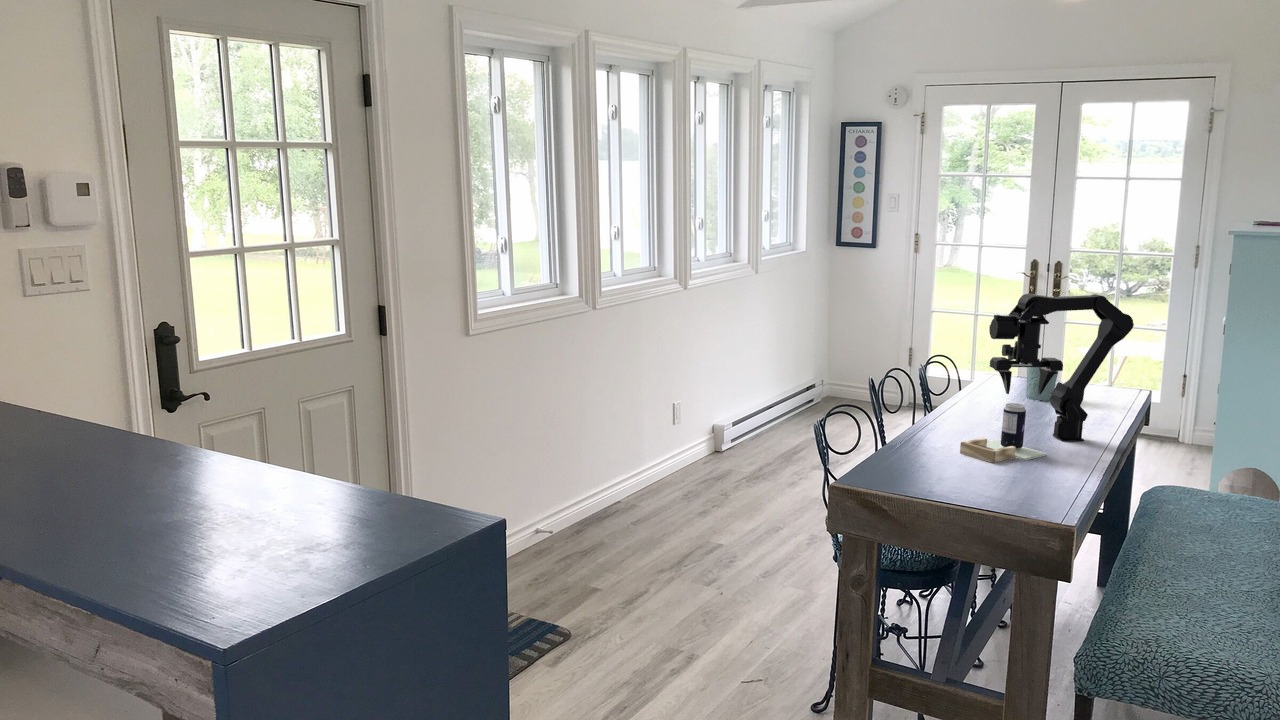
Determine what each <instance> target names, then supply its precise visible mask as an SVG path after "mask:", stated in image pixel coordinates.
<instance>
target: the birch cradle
mask: <svg viewBox="0 0 1280 720" xmlns="http://www.w3.org/2000/svg"><path fill="white" fill-rule="evenodd" d="M987 441H988V438H986V437H981V438H980V437H979V438H976V439H971V440H965V441H961V442H960V445H959V446H960V448H959V454H961V455H966V456H969V457H971V458H975V459H978V460H981V461H984V460H985V462H987V461H988V463H990V462H993V463H997V462H996V461H998V462H1002V461H1001V460H1003V461H1006V459H1007V460H1012V459H1015V450H1016V447H1014V446H1009V447H1004V448H999V449H994V450H990V449H987ZM1011 458H1012V459H1011Z"/></svg>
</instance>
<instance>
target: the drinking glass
mask: <svg viewBox="0 0 1280 720" xmlns="http://www.w3.org/2000/svg"><path fill="white" fill-rule="evenodd" d="M1039 368H1042V367H1026V381H1025V383H1026V385H1025V386H1026V388H1025V398H1026V397H1027V398H1026V399H1028V398H1029V400H1031V399H1033V400H1032V401H1036V400H1042V401H1041V402H1050V397H1051V395H1052V394H1050V393H1051V392H1052V391H1053V390H1054V389H1055V387H1056V385H1057V379H1058V375H1059V371H1057V372H1058V374H1054V375H1053V377H1052V378H1051V379H1050V381H1049V382H1048V384H1047V385H1046V387H1045V389H1044V390H1043V392H1042V393H1041V394H1038V386H1039V380H1040V370H1039Z"/></svg>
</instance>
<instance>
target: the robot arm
mask: <svg viewBox="0 0 1280 720" xmlns="http://www.w3.org/2000/svg"><path fill="white" fill-rule="evenodd" d="M1089 310H1090V311H1091V310H1092V311H1093V312H1094V313H1095V315H1096V317H1097V318H1099V320H1100V323H1099V325H1098V327H1097V328H1098V329H1097V336H1096V339H1095V340H1094V341H1093V343H1092V344H1091V346H1090V348H1089V349H1088V351H1087V352H1086V353H1085V355H1084V357H1083V358H1082V359H1081V361H1080V362H1079V364H1078V365H1077V367H1076V369H1075V370H1074V372H1073V373H1072V375H1071V377H1069V378H1068V380H1067V381H1065V382H1064V383H1062V382H1061V381H1058V382H1056V385H1055V389H1054V390H1053V391H1052V392H1051V393H1050V394H1052V395H1051V397H1050V401H1049V403H1050V405H1051V407H1052V408H1053V409H1054V412H1055V414H1056V415H1057V416H1056V421H1054V427H1053V433H1052V436H1053V437H1055V438H1056V439H1058V440H1059V441H1062V442H1084V441H1085V439H1084V438H1082V436H1083V429H1084V428H1083V426H1084V425H1083V424H1084V422H1085V421H1086V420H1087V418H1088V412H1087V411H1085V409H1083V408H1082V406H1081V405H1082V404H1083V401H1084V395H1085V389H1086V387H1088V384H1089V383H1090V382H1091V380H1092V378H1093V377H1094V375H1095V374H1096V373H1097V371H1098V369H1099V368H1100V367H1101V365H1102V363H1103V362H1104V361H1105V359H1106V357H1107V356H1108V355H1109V353H1110V351H1111V350H1112V349H1113V348H1114V346H1115V345H1117V344H1118V343H1119V342H1120V341H1122V340H1124V339H1125V338H1126V337H1127V335H1128V334H1130V332H1131V331H1132V330H1133V328H1134V324H1135V323H1134V319H1133V318H1132V317H1131V316H1130V315H1129V314H1127V313H1124V312H1123V311H1121V309H1119V308H1118V307H1117V306H1115V305H1114V304H1113V303H1111V301H1109V299H1108V298H1107V297H1106V296H1104V295H1100V294H1096V293H1093V294H1090V295H1088V294H1086V295H1069V296H1066V295H1065V296H1047V295H1041V294H1033V293H1025V294H1023V295H1021V296H1020V298H1019V299H1018V301H1017V304H1016V305H1015V306H1014V307H1013V309H1012V310H1011V311H1010V312H1009V313H1008V315H1002V314H1001V315H1000V314H993V319H991V321H990V322H991V323H990V325H989V330H988V331H989V335H990V338H991V339H992V340H1014V339H1015V338H1017V340H1016V341H1015V342H1014V346H1012V345H1011V344H1006V343H1005V344H1002V345H1001V356H1002V357H1001V356H995V357H994V356H993V357H992V358H991V359H990V361H989V368H992V369H993V370H994V371H995V372H998V373H999V375H1000V377H1001V380H1002V384H1003V387H1004V391H1005V393H1006V395H1009V394H1010V391H1011V384H1012V383H1011V382H1012V373H1013V372H1012V370H1011V369H1012V368H1027V367H1042V368H1039V370H1040V380H1039V386H1038V394H1041V393H1042V392H1043V390H1044V389H1045V387H1046V385H1047V384H1048V382H1049V381H1050V379H1051V378H1052V377H1053V375H1054V374H1058V375H1059V372H1062V371H1063V369H1064V364H1063V362H1062V360H1060V359H1058V358H1056V357H1041V359H1039V349H1041V348H1042V345H1041V344H1040V337H1041V327H1042V325H1049V324H1050V321H1048V320H1047V319H1046V317H1045V316H1046V315H1049V314H1051V313H1057V312H1067V311H1069V312H1070V311H1072V312H1073V311H1089ZM1057 371H1058V372H1057Z"/></svg>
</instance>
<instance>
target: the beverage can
mask: <svg viewBox="0 0 1280 720" xmlns="http://www.w3.org/2000/svg"><path fill="white" fill-rule="evenodd" d="M1002 414H1003V415H1002V424H1001V425H1002V426H1001V435H1000V440H1001V445H1002V446H1003V448H1004V447H1009V446H1014V447H1016V450H1019V449H1020V448H1022V447H1024V436H1025V427H1026V426H1025V425H1026V415H1027V410H1026V406H1025V405H1024V404H1020V403H1016V402H1015V403H1012V402H1009V403H1006V404H1005V406H1004V408H1003V412H1002Z"/></svg>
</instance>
